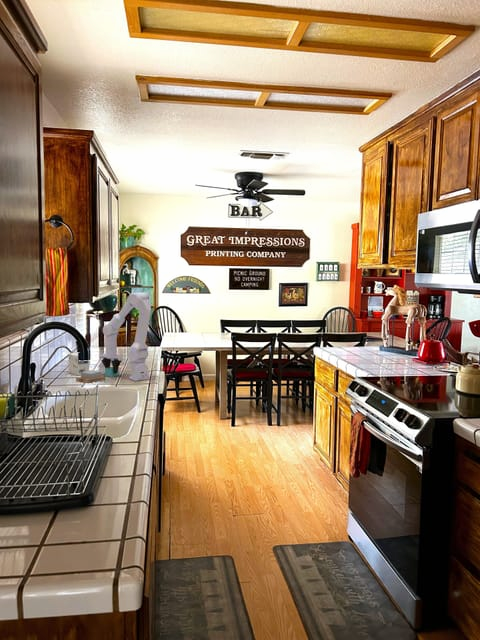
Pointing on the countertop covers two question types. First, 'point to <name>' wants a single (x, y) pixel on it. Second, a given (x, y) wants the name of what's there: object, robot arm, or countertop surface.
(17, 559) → the countertop surface
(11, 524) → the countertop surface
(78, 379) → the walnut base slab
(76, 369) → the light bulb box
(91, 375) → the grey middle slab
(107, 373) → the teal block
